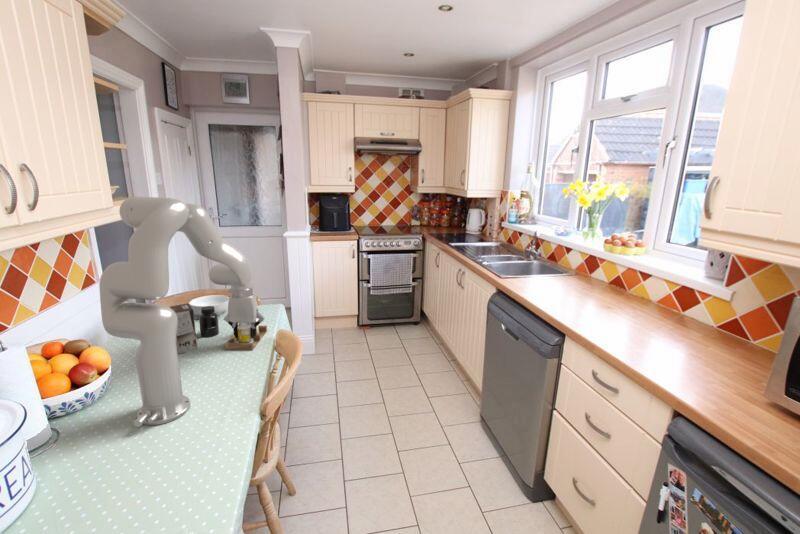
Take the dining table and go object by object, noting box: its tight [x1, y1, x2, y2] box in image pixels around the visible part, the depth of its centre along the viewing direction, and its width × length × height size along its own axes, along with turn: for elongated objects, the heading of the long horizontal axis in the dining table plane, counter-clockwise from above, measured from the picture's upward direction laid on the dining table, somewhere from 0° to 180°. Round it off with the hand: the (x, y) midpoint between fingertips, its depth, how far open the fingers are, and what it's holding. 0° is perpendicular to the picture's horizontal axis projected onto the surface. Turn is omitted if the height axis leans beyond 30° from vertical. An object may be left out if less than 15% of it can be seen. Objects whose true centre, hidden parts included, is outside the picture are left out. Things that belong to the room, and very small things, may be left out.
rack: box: [224, 325, 268, 352], centre depth 149 cm, size 18×10×3 cm, turn 2°
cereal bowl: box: [188, 294, 229, 316], centre depth 174 cm, size 17×17×7 cm
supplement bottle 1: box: [198, 306, 220, 339], centre depth 152 cm, size 7×7×12 cm
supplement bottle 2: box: [237, 323, 253, 343], centre depth 143 cm, size 5×5×10 cm
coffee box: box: [169, 302, 198, 354], centre depth 140 cm, size 9×6×16 cm
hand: (245, 336), depth 144 cm, fingers closed on supplement bottle 2, 5 cm apart
